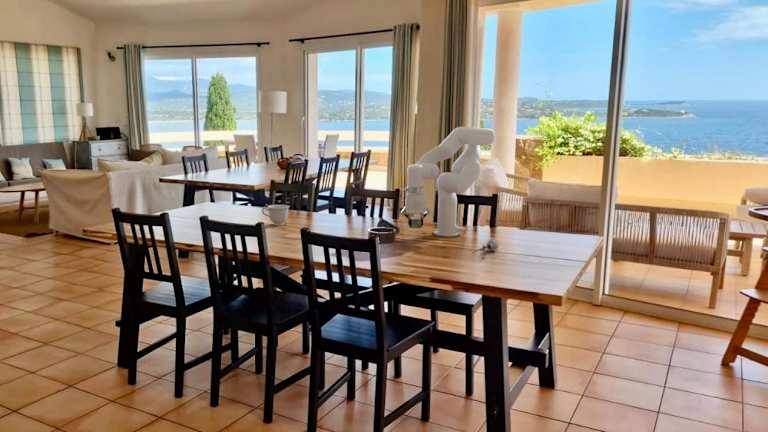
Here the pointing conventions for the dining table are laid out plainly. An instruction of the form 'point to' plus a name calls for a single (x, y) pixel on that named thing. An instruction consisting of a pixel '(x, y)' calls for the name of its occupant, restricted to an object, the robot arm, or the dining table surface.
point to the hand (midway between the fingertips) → (415, 226)
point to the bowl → (383, 234)
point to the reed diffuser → (490, 246)
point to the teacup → (277, 213)
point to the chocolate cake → (387, 225)
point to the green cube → (416, 222)
